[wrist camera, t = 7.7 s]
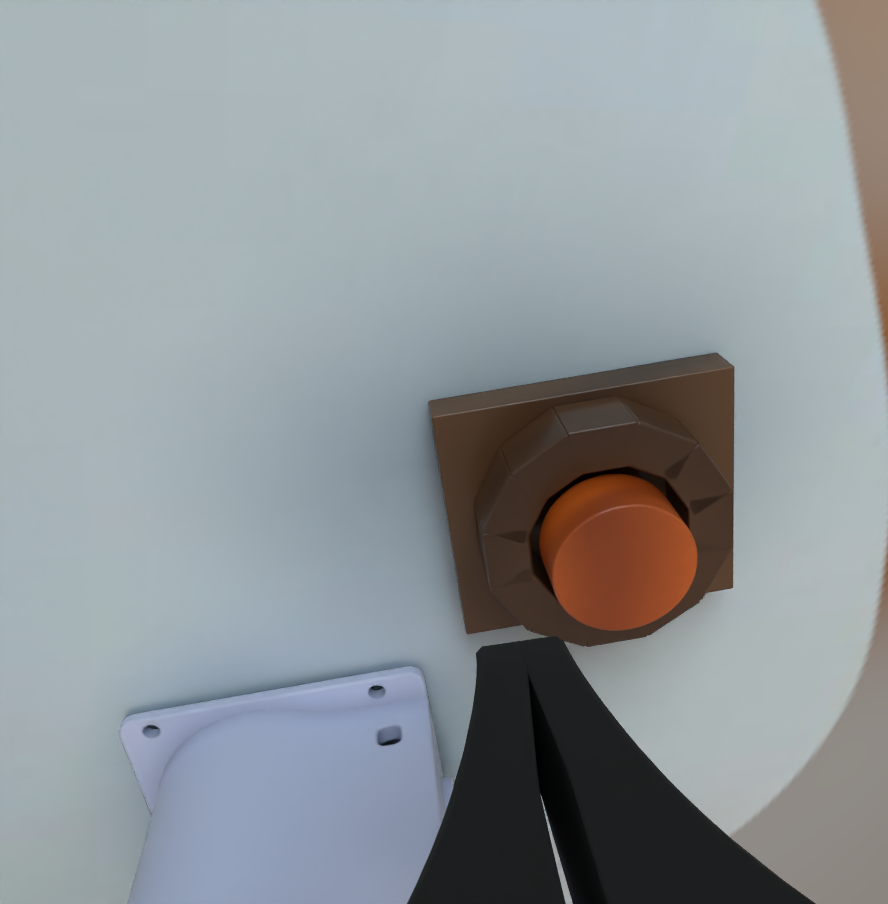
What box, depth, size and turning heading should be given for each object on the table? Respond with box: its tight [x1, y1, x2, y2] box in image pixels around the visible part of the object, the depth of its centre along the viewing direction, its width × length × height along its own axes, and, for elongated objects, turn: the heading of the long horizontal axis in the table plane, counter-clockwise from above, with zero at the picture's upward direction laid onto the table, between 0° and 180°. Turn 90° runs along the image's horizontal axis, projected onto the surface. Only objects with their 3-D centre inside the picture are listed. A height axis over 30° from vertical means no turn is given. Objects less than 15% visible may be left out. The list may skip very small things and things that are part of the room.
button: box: [539, 474, 698, 631], centre depth 21 cm, size 4×4×2 cm
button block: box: [428, 353, 734, 647], centre depth 23 cm, size 8×7×3 cm
